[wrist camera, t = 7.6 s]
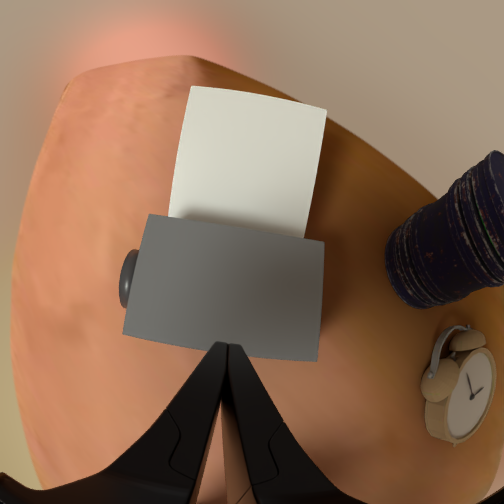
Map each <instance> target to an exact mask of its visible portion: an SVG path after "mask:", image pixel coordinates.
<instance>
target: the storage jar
mask: <svg viewBox="0 0 504 504" xmlns="http://www.w3.org/2000/svg"><path fill="white" fill-rule="evenodd" d="M385 265H386V270H387V274H388V277H389V280H390V282H391V284H392V286H393V288H394V290H395V291H396V293H397V294H398V296H399V297H400V298H401V299H402V300H403V301H404V302H405V303H407V304H408V305H410V306H411V307H414V308H417V309H427V308H430V307H433V306H439V305H445V304H448V303H451V302H454V301H459V300H461V299H463V298H465V297H466V296H468V295H469V294H470V293H471V292H473V291H476V290H479V289H482V288H484V287H499V286H502V285H503V284H504V154H503V153H501V152H499V151H496V150H494V151H492V152H490V154H488V155H487V156H486V157H485V159H484V160H482V161H481V162H479V163H478V164H477V165H476V166H473V167H471V168H470V169H469V170H468V171H467V172H465V173H464V174H463V176H462V177H461V178H459V179H457V180H456V181H455V182H454V183H453V184H452V186H451V187H450V188H449V190H448V193H446V194H445V195H444V196H442V197H441V198H440V199H439V200H437V201H436V202H435V203H431V204H428V205H426V206H424V207H422V208H420V209H419V210H418V211H417V212H416V213H414V214H413V215H412V216H411V217H409V218H408V219H407V220H406V221H405V223H403V224H402V225H401V226H399V227H398V228H396V229H395V230H394V231H393V232H392V233H391V235H390V236H389V238H388V241H387V244H386V248H385Z"/></svg>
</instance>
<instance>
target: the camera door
mask: <svg viewBox="0 0 504 504" xmlns="http://www.w3.org/2000/svg"><path fill="white" fill-rule="evenodd" d="M326 114H327V110H325V109H322V108H318V107H314V106H310V105H306V104H302V103H298V102H294V101H289V100H285V99H280V98H275V97H270V96H265V95H260V94H254V93H248V92H241V91H235V90H227V89H219V88H210V87H200V86H191V90H190V94H189V98H188V103H187V107H186V112H185V116H184V121H183V126H182V131H181V137H180V142H179V147H178V153H177V159H176V165H175V171H174V177H173V184H172V191H171V198H170V206H169V214H168V217H175V218H182V219H188V220H195V221H201V222H208V223H214V224H221V225H227V226H233V227H240V228H246V229H252V230H258V231H264V232H270V233H276V234H282V235H288V236H294V237H299V238H304V234H305V229H306V224H307V220H308V215H309V210H310V205H311V200H312V195H313V190H314V184H315V179H316V174H317V168H318V162H319V157H320V151H321V145H322V139H323V133H324V127H325V120H326Z"/></svg>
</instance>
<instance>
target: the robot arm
mask: <svg viewBox="0 0 504 504" xmlns="http://www.w3.org/2000/svg"><path fill="white" fill-rule="evenodd" d="M220 403H221V420H222V438H223V453H224V467H225V480H226V492H227V503H228V504H367V503H365V502H362V501H360V500H358V499H355V498H353V497H351V496H349V495H347V494H345V493H343V492H342V491H340V490H339V489H338V488H337V487H335V486H334V485H333V484H332V483H331V482H330V481H329V479H328V478H327V477H326V476H325V475H324V474H323V473H322V472H321V470H320V469H319V468H318V467H317V466H316V465H315V463H314V462H313V461H312V460H311V459H310V458H309V456H308V455H307V454H306V453H305V451H304V450H303V449H302V448H301V446H300V445H299V444H298V442H297V441H296V439H295V438H294V436H293V435H292V433H291V432H290V430H289V428H288V427H287V425H286V423H285V422H283V421H284V420H283V418H282V417H281V415H280V413H279V412H278V410H277V408H276V407H275V405H274V403H273V401H272V400H271V398H270V396H269V394H268V393H267V391H266V389H265V387H264V386H263V384H262V382H261V380H260V378H259V377H258V375H257V373H256V371H255V369H254V368H253V366H252V364H251V362H250V360H249V358H248V357H247V355H246V353H245V351H244V349H243V347H242V346H241V345H240V344H235V343H229V344H228V343H226V342H220V341H216V342H214V344H213V345H212V346H211V348H210V349H209V351H208V352H207V353H206V355H205V356H204V357H203V359H202V360H201V362H200V363H199V364H198V366H197V367H196V368H195V370H194V371H193V372H192V374H191V375H190V376H189V378H188V379H187V380H186V382H185V383H184V384H183V386H182V387H181V388H180V390H179V391H178V392H177V394H176V395H175V396H174V398H173V399H172V400H171V402H170V403H169V404H168V406H167V407H166V409H164V411H163V412H162V413H161V415H160V416H159V417H158V418H157V420H156V421H155V422H154V423H153V424H152V426H151V427H150V428H149V429H148V430H147V431H146V432H145V433H144V434H143V435H142V436H141V437H140V438H139V439H138V440H137V441H136V442H135V443H134V444H133V445H132V446H131V447H130V448H128V449H127V450H126V451H125V452H124V453H123V454H122V455H121V456H120V457H119V458H117V459H116V460H115V461H114V462H113V463H112V464H110V465H109V466H108V467H106V468H105V469H104V470H102V471H100V472H98V473H96V474H94V475H92V476H89V477H86V478H83V479H80V480H77V481H75V482H72V483H68V484H65V485H62V486H59V487H55V488H52V489H48V490H34V489H30V488H27V487H25V486H24V485H22V484H21V483H19V482H17V481H16V480H14V479H13V478H11V477H10V476H8V475H7V474H5V473H3V472H1V473H0V504H196V501H197V497H198V493H199V489H200V485H201V481H202V477H203V473H204V469H205V465H206V461H207V457H208V453H209V449H210V445H211V441H212V437H213V433H214V428H215V424H216V420H217V416H218V412H219V408H220ZM476 504H504V487H502V488H501V489H499V490H498V491H496V492H495V493H493V494H492V495H490V496H488V497H487V498H485V499H483V500H482V501H480V502H478V503H476Z"/></svg>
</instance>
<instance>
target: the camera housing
mask: <svg viewBox="0 0 504 504" xmlns="http://www.w3.org/2000/svg"><path fill="white" fill-rule="evenodd" d="M323 274H324V242H322V241H316V240H311V239H305V238H299V237H294V236H288V235H282V234H276V233H270V232H264V231H258V230H252V229H246V228H240V227H233V226H227V225H221V224H214V223H208V222H201V221H195V220H188V219H182V218H175V217H168V216H161V215H154V214H149V216H148V219H147V223H146V227H145V230H144V234H143V238H142V242H141V245H140V249H139V250H136V249H133V250H131V251H130V252H129V253H128V255H127V256H126V258H125V261H124V263H123V266H122V270H121V275H120V281H119V297H120V302H121V305H122V307H123V308H126V309H127V310H126V315H125V321H124V327H123V334H124V335H128V336H132V337H136V338H141V339H145V340H150V341H155V342H160V343H165V344H170V345H175V346H180V347H186V348H192V349H198V350H204V351H209V349H210V348H211V346H212V345H213V344H214V342H216V341H220V342H226V343H228V344H229V343H235V344H240V345H241V346H242V347H243V349H244V351H245V353H246V355H247V356H249V357H258V358H269V359H280V360H294V361H312V362H317V358H318V348H319V337H320V325H321V311H322V295H323Z"/></svg>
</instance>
